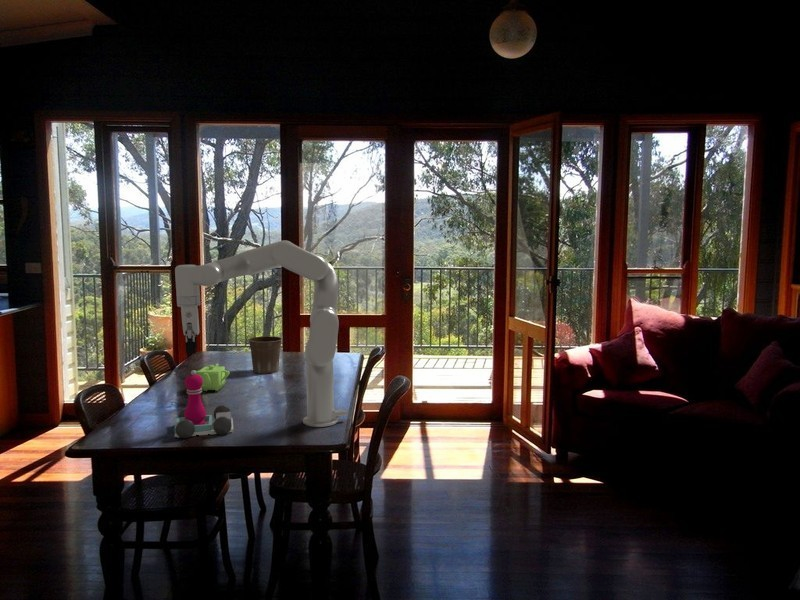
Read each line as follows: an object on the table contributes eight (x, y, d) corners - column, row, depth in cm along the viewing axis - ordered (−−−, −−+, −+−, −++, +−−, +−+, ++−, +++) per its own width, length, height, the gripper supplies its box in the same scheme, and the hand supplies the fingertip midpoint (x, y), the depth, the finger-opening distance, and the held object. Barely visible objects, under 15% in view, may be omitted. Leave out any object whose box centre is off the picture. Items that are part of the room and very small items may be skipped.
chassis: (232, 419, 230) (231, 403, 229) (233, 433, 214) (232, 416, 214) (177, 424, 225) (176, 408, 224) (174, 439, 209) (173, 421, 209)
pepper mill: (185, 431, 214) (182, 373, 211) (184, 424, 220) (181, 368, 218) (207, 428, 216) (205, 371, 214) (205, 422, 223) (203, 367, 221)
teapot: (205, 395, 264) (204, 370, 262) (188, 390, 272) (186, 366, 271) (236, 388, 275) (235, 364, 274) (218, 383, 284) (217, 360, 283)
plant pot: (287, 367, 314) (286, 336, 313) (277, 375, 298) (276, 341, 297) (255, 367, 316) (254, 335, 314) (244, 374, 300) (243, 341, 298)
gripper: (199, 303, 206) (202, 354, 208) (200, 297, 223) (203, 345, 225) (175, 304, 204) (178, 356, 206) (178, 299, 221) (181, 347, 223)
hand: (191, 350), depth 216 cm, fingers open, 9 cm apart
